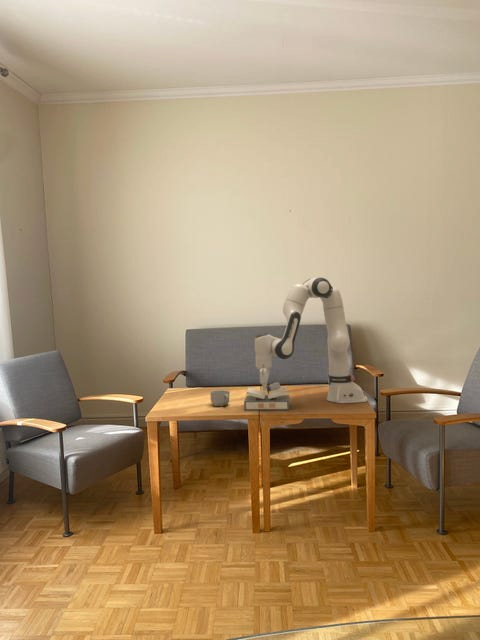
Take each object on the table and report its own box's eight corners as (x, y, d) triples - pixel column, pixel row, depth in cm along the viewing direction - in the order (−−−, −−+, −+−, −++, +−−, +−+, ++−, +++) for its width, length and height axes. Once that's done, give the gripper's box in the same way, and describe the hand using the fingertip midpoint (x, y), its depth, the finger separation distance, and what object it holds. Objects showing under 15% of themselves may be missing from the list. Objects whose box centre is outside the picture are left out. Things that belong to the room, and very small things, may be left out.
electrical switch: (274, 400, 315) (272, 384, 315) (266, 400, 318) (265, 384, 318) (283, 397, 322) (281, 381, 322) (276, 397, 326) (274, 381, 325)
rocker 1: (265, 394, 306) (266, 391, 306) (264, 399, 295) (264, 396, 295) (248, 390, 307) (248, 387, 306) (246, 394, 296) (246, 391, 296)
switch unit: (289, 403, 306) (289, 391, 306) (289, 410, 292) (288, 397, 291) (246, 404, 309) (246, 392, 308) (244, 410, 295) (243, 398, 294)
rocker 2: (287, 389, 304) (286, 386, 304) (286, 394, 293) (285, 391, 293) (269, 394, 306) (269, 391, 305) (268, 399, 295) (267, 396, 295)
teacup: (208, 404, 312) (207, 390, 312) (226, 402, 316) (225, 388, 315) (216, 409, 299) (215, 395, 298) (234, 407, 303) (234, 393, 302)
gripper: (268, 366, 288) (269, 392, 289) (270, 360, 308) (271, 384, 310) (256, 367, 289) (258, 393, 290) (259, 360, 309) (260, 384, 310)
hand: (265, 388), depth 300 cm, fingers open, 8 cm apart
